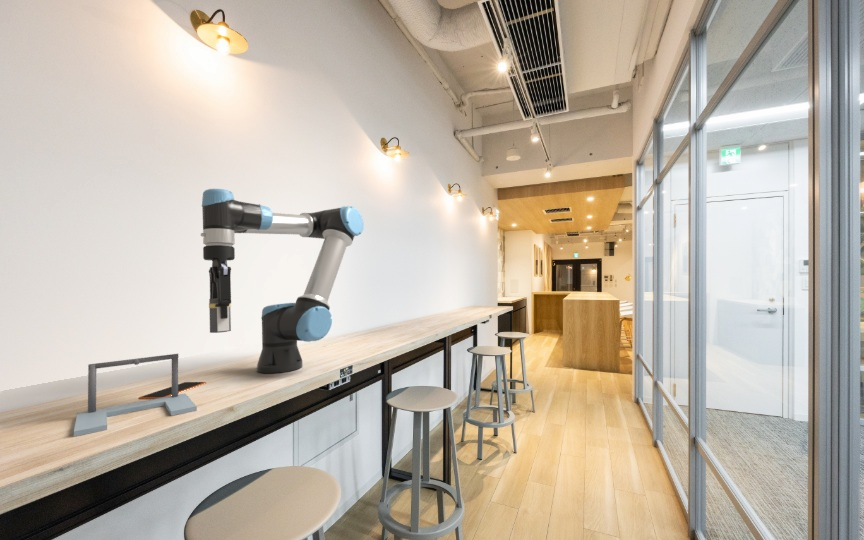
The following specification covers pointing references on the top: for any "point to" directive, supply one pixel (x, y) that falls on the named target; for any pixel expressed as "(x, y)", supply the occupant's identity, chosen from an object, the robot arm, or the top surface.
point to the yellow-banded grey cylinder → (214, 316)
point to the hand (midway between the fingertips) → (220, 329)
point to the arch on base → (98, 418)
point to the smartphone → (168, 391)
